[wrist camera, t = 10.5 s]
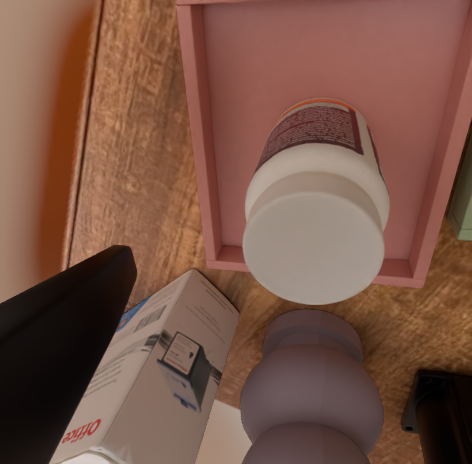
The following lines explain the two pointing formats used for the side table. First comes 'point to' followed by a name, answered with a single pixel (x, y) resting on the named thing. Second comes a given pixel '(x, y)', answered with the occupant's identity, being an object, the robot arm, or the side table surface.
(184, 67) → the rose tray
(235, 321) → the ink box
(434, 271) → the side table surface
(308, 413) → the cat figurine
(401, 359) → the side table surface
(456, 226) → the sage tray
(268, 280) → the pill bottle
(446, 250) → the side table surface
